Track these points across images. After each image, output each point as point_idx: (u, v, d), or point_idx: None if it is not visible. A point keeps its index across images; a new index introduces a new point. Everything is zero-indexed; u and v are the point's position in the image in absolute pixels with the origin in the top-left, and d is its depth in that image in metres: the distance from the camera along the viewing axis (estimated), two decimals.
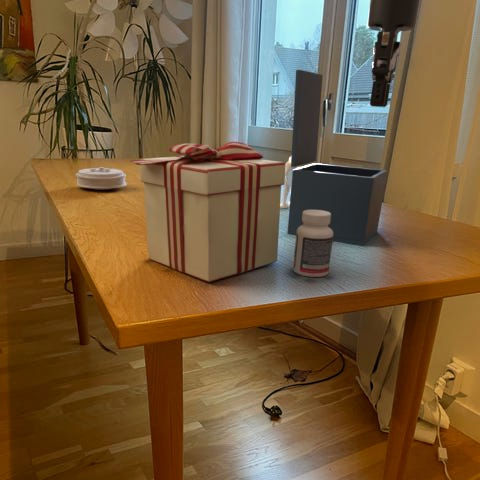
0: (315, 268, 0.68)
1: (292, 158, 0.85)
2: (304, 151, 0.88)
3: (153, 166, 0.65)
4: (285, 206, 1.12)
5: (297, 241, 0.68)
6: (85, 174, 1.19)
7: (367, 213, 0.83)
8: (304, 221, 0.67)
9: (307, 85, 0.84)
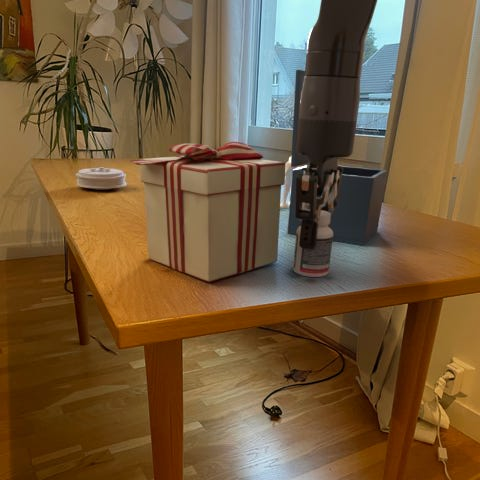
0: (315, 268, 0.68)
1: (292, 158, 0.85)
2: None
3: (153, 166, 0.65)
4: (285, 206, 1.12)
5: (297, 241, 0.68)
6: (85, 174, 1.19)
7: (367, 213, 0.83)
8: None
9: None
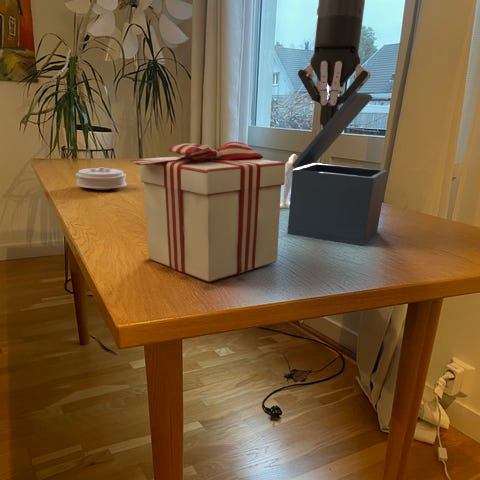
0: None
1: (297, 160, 0.85)
2: (311, 156, 0.88)
3: (153, 166, 0.65)
4: (285, 206, 1.12)
5: None
6: (85, 174, 1.19)
7: (367, 213, 0.83)
8: None
9: (353, 107, 0.82)
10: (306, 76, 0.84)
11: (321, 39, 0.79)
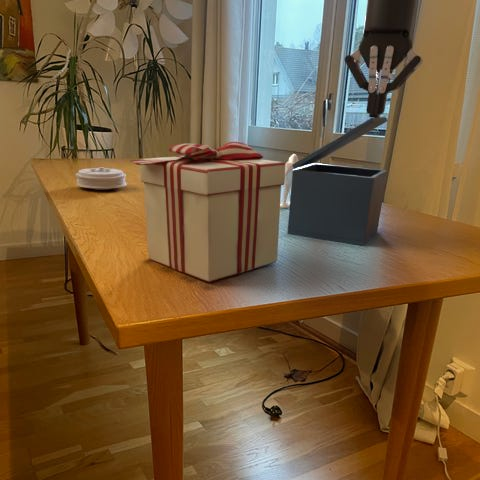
0: None
1: (299, 162, 0.85)
2: (313, 160, 0.88)
3: (153, 166, 0.65)
4: (285, 206, 1.12)
5: None
6: (85, 174, 1.19)
7: (367, 213, 0.83)
8: None
9: (367, 128, 0.82)
10: (353, 62, 0.80)
11: (373, 23, 0.75)
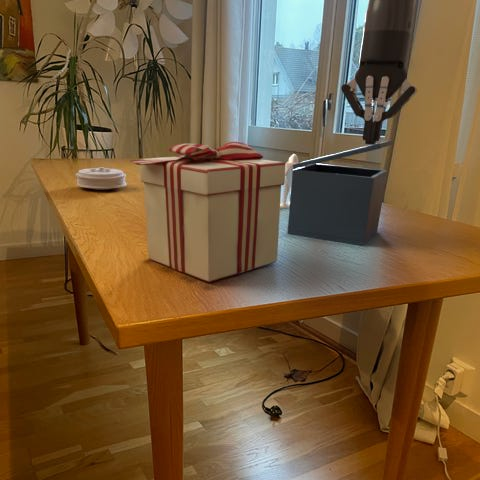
0: None
1: (300, 164, 0.85)
2: None
3: (153, 166, 0.65)
4: (285, 206, 1.12)
5: None
6: (85, 174, 1.19)
7: (367, 213, 0.83)
8: None
9: None
10: (350, 91, 0.82)
11: (369, 54, 0.76)
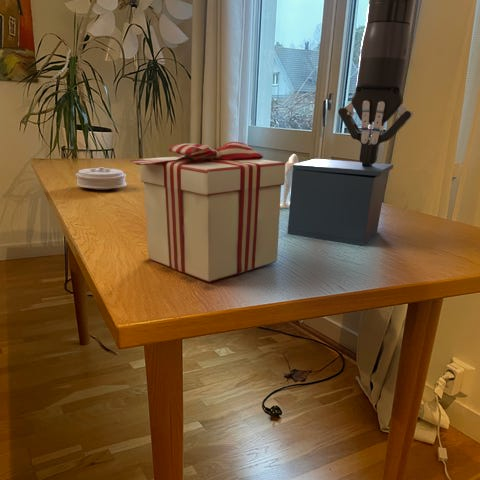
0: None
1: (300, 166, 0.85)
2: None
3: (153, 166, 0.65)
4: (285, 206, 1.12)
5: None
6: (85, 174, 1.19)
7: (367, 213, 0.83)
8: None
9: None
10: (347, 114, 0.83)
11: (365, 80, 0.78)
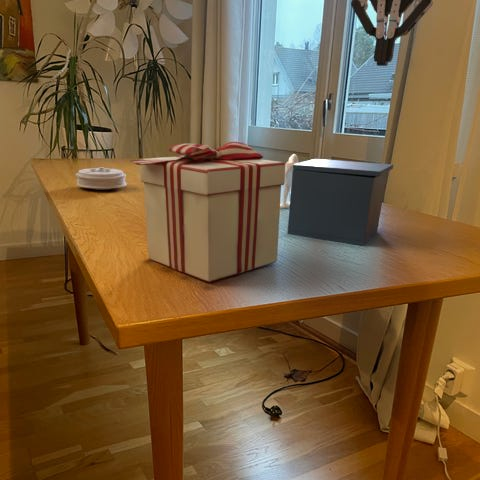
0: None
1: (300, 166, 0.85)
2: None
3: (153, 166, 0.65)
4: (285, 206, 1.12)
5: None
6: (85, 174, 1.19)
7: (367, 213, 0.83)
8: None
9: None
10: (360, 6, 0.76)
11: None
